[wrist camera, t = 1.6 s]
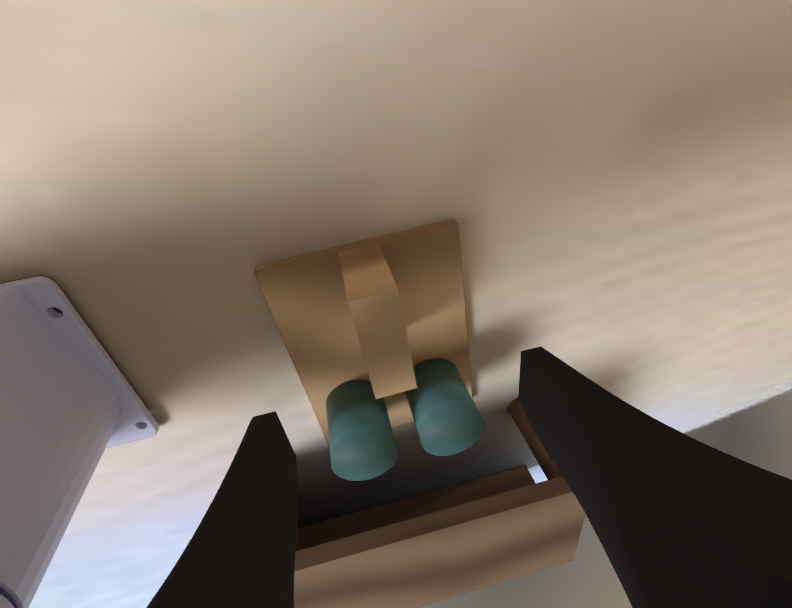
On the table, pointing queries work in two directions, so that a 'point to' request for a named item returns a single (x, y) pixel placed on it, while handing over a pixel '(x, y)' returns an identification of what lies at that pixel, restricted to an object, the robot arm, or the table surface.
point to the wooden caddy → (441, 539)
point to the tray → (380, 343)
